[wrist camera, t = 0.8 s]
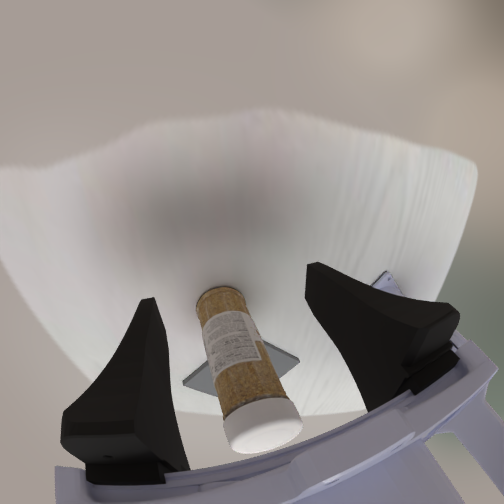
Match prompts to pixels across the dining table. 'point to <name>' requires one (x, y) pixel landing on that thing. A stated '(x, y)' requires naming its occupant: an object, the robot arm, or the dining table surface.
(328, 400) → the dining table surface
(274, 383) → the sprinkles bottle
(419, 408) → the robot arm
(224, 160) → the dining table surface
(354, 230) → the dining table surface
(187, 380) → the coaster
